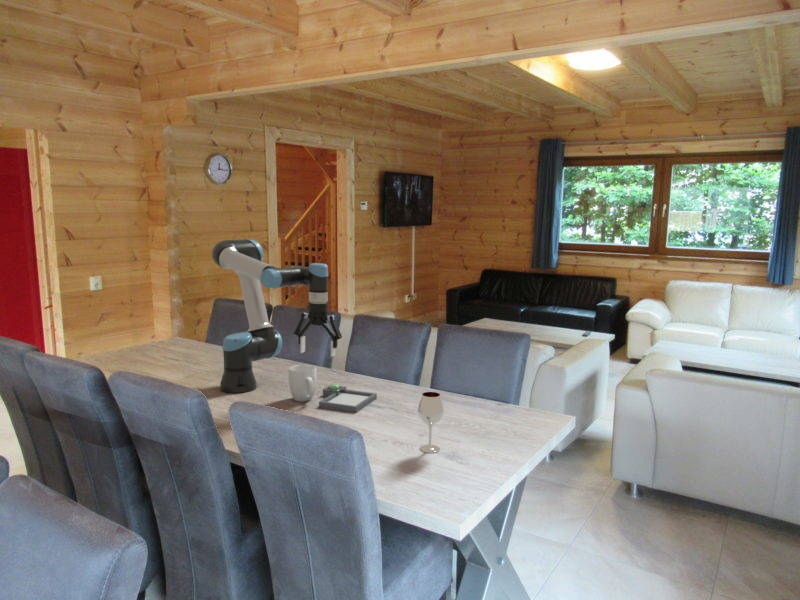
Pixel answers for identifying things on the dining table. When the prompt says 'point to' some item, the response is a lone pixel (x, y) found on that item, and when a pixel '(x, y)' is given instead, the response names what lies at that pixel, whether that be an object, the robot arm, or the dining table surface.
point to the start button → (334, 386)
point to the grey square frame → (333, 391)
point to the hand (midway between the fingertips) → (317, 354)
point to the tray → (348, 400)
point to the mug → (302, 382)
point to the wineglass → (430, 415)
